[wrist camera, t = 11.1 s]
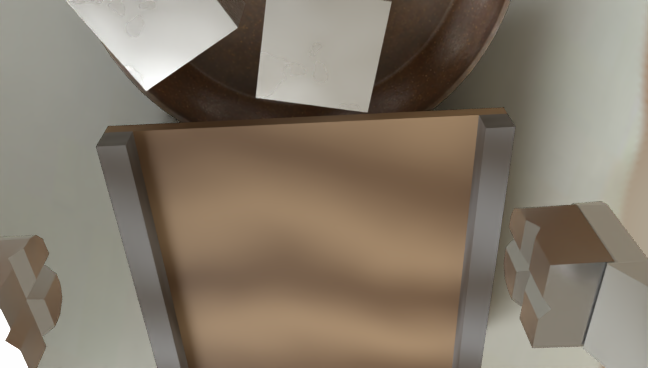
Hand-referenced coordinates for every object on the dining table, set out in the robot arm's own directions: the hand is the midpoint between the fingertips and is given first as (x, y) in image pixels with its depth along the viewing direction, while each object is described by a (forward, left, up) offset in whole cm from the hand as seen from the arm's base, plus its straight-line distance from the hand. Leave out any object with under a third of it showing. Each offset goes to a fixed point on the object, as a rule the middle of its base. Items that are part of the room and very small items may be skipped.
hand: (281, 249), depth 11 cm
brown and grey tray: (+6, -13, -19) cm, 24 cm away
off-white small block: (+1, -1, -16) cm, 16 cm away
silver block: (-5, -2, -16) cm, 17 cm away
